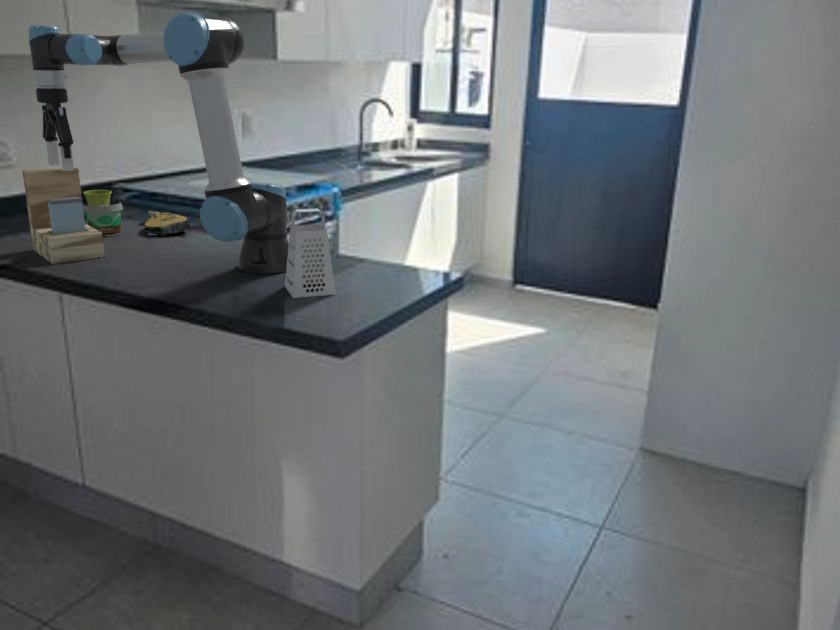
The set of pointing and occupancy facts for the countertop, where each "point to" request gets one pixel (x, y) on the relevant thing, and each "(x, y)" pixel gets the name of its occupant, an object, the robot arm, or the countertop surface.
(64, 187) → the slotted wooden holder
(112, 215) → the food container
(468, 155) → the countertop surface
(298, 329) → the countertop surface
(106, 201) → the plant pot
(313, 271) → the grater
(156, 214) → the yellow piece
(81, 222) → the pale blue plaque
